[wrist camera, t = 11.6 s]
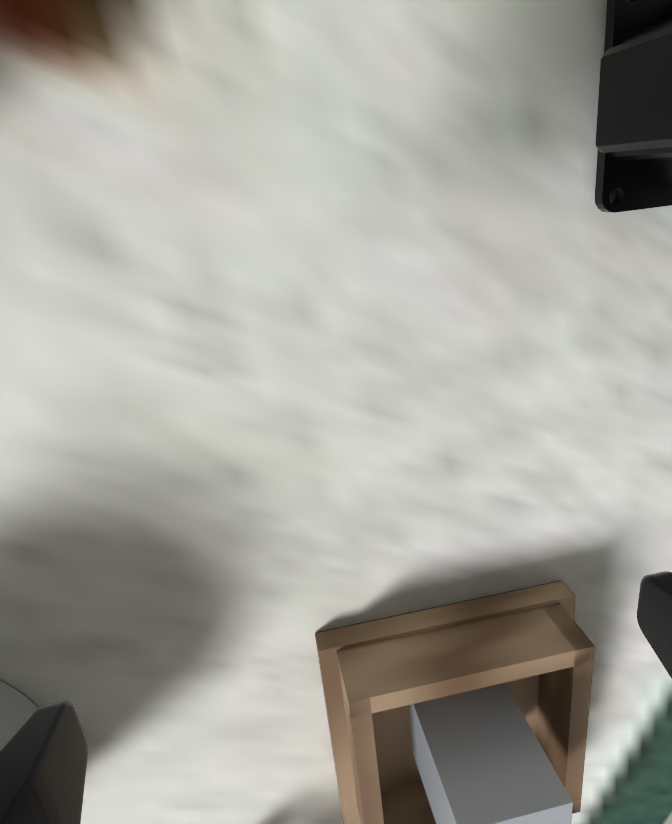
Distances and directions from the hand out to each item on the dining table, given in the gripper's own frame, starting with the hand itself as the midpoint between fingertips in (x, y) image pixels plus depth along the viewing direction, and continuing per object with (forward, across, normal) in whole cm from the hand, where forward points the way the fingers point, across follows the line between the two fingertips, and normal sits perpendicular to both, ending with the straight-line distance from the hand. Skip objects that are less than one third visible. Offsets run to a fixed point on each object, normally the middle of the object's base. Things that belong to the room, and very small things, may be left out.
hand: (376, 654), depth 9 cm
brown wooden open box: (+12, -5, +18) cm, 22 cm away
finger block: (+11, -5, +15) cm, 20 cm away
